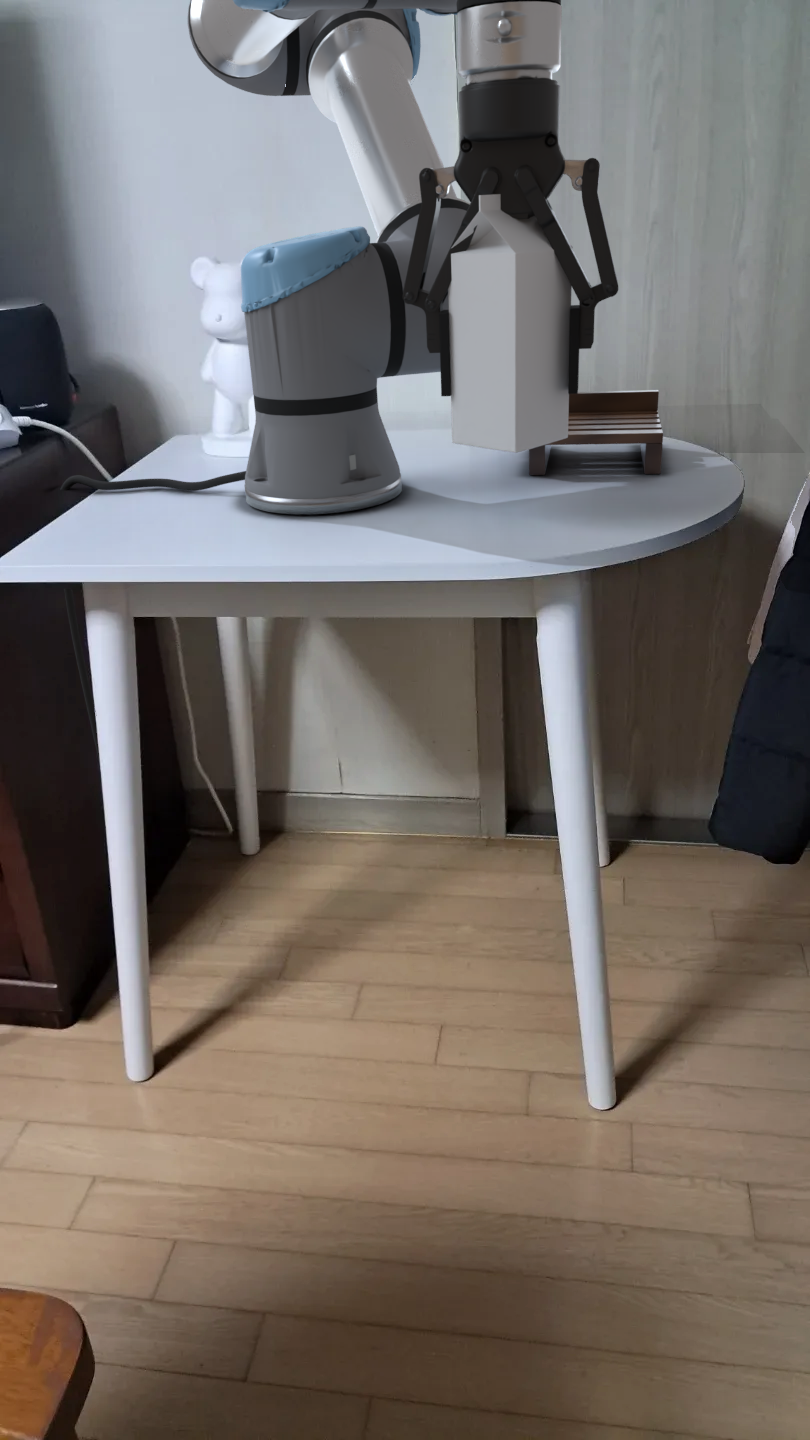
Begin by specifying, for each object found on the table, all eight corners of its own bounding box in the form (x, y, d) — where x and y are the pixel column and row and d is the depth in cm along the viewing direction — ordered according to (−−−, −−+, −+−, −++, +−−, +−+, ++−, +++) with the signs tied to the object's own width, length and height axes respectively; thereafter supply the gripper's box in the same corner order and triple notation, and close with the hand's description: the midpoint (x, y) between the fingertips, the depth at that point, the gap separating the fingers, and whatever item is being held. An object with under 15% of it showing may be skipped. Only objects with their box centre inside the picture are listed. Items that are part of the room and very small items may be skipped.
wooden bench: (528, 475, 104) (529, 414, 102) (536, 448, 116) (536, 392, 113) (660, 474, 102) (664, 411, 99) (655, 446, 113) (658, 389, 111)
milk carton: (568, 439, 88) (574, 190, 79) (515, 455, 84) (516, 193, 75) (504, 430, 93) (503, 193, 84) (451, 445, 88) (444, 197, 80)
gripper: (350, 86, 75) (370, 402, 85) (667, 63, 71) (648, 397, 81) (371, 95, 81) (387, 387, 91) (662, 73, 78) (645, 381, 88)
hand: (509, 392), depth 86 cm, fingers closed on milk carton, 10 cm apart
